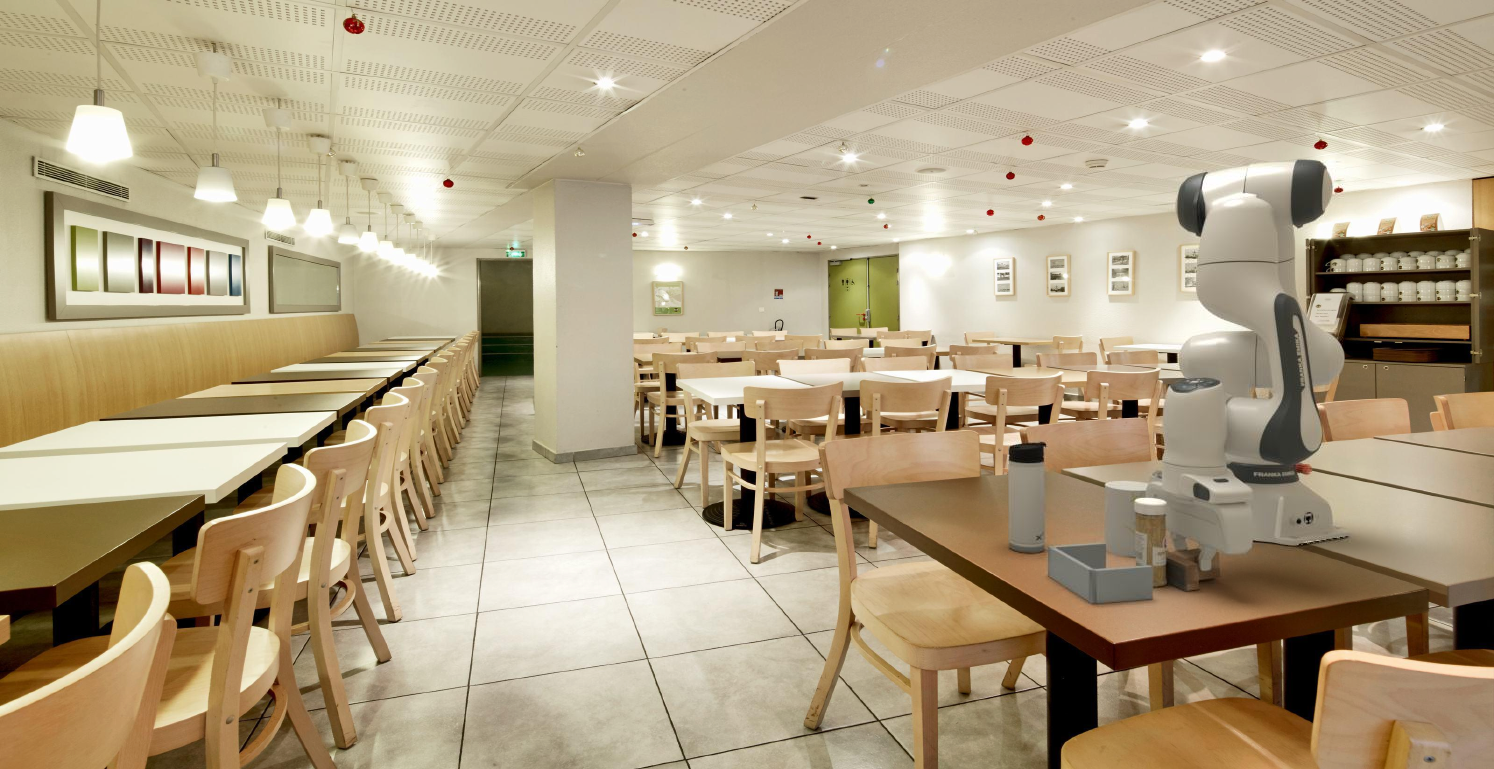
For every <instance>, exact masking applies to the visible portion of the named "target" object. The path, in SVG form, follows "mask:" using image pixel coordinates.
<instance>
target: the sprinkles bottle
mask: <svg viewBox="0 0 1494 769" xmlns="http://www.w3.org/2000/svg"><path fill="white" fill-rule="evenodd" d="M1134 510H1135V514H1136V529H1135V557H1134V558H1135V560H1134V561H1135V566H1143V565H1151V566H1153V588H1154V587H1155V588H1157V587H1163V586H1165V585H1167V580H1166V550H1167V534H1166V533H1167V530H1166V525H1165V524H1166V518H1165V517H1166V513H1167V503H1166V501H1164V500H1161V499H1156V498H1138V499H1136V500H1135V503H1134Z"/></svg>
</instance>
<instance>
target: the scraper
mask: <svg viewBox="0 0 1494 769" xmlns="http://www.w3.org/2000/svg"><path fill="white" fill-rule="evenodd" d="M1200 553H1201V550H1200V549H1199V547H1197V548H1191V549H1189V548H1188V550H1183V551H1176V552H1175V551H1169V550H1167V549H1166V580H1167V583H1168V584H1170V585H1171V586H1174V587H1176V588H1178V589H1180V590H1181V591H1184V592H1188V591H1195V590H1199V589H1200V583H1199V581H1202V580H1203V581H1204V580H1210V579H1215V578H1220V577H1221V567H1220V566H1221V565H1220V551H1217V552H1216V554H1215V555H1214V557H1213V558H1212V559H1211V569H1210V570H1208V571H1202V570H1200V569H1198V564H1197V563H1195V562H1194V557H1199V555H1200ZM1167 583H1166V584H1167Z"/></svg>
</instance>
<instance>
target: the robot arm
mask: <svg viewBox="0 0 1494 769" xmlns="http://www.w3.org/2000/svg"><path fill="white" fill-rule="evenodd" d="M1333 189H1334V187H1333V180H1332V178H1331V175H1330V173H1329V171H1328V168H1327V166H1326V165H1325V164H1324V163H1323V162H1322V161H1320V160H1316V159H1297V160H1296V161H1271V162H1270V161H1269V162H1268V161H1267V162H1258V163H1250V164H1249V165H1242V166H1237V167H1231V168H1225V169H1221V170H1216V171H1212V172H1208V171H1204V172H1201V173H1197V174H1193V175H1191V176H1189V177H1187V178H1186V179H1185V180H1184V181H1183V182H1182V183H1181V185H1180V186H1179V189H1178V193H1177V194H1176V198H1175V203H1174V204H1175V206H1174V207H1175V213H1176V216H1177V219H1178V223H1179V225H1180V227H1182V228H1183V229H1184V230H1186V231H1187V232H1189V233H1193V234H1195V236H1196V237H1199V238H1200V239H1199V245H1198V250H1197V257H1196V258H1197V260H1196V276H1195V290H1196V295H1197V300H1198V301H1199V302H1200V303H1201V305H1202V307H1203V308H1205V309H1206V310H1207V311H1208V312H1209V313H1210V314H1212V315H1214V316H1215V317H1217V318H1220V319H1221V320H1223V321H1226V322H1228V323H1233V324H1234V325H1238V326H1240V327H1243V328H1246V329H1247V330H1236V331H1235V330H1233V331H1232V330H1231V331H1229V330H1228V331H1212V332H1207V333H1202V334H1196V335H1191V336H1190V337H1189V338H1188V339H1186V341H1185V342H1184V343H1183V345H1182V347H1181V349H1180V351H1179V353H1178V367H1179V370H1180V372H1181V374H1182V376H1183V379H1179V380H1176V381H1174V382H1172V383H1171V384H1169V385H1168V387H1167V390H1166V393H1165V397H1164V402H1163V411H1162V412H1163V413H1162V431H1161V432H1162V433H1161V434H1162V437H1163V440H1164V441H1163V442H1164V451H1163V452H1164V453H1163V454H1162V461H1161V470H1155V471H1154V472H1152V474H1151V475H1150V476H1149V481H1148V482H1149V483H1148V486H1147V488H1146V494H1145V498H1156V499H1161V500H1164V501H1166V503H1167V513H1166V517H1165V518H1166V524H1165V525H1166V531H1168V532H1169V538H1170V540H1171V543H1172V545H1173V548H1174V550H1175V551H1174V552H1176V551H1183V550H1189V547H1188V544H1187V541H1186V539H1188V540H1191V541H1193V542H1196V543H1198V548H1199V549H1200V550H1201V553H1200V555H1199V557H1194V562H1195V563H1197V564H1198V569H1200V570H1202V571H1208V570H1210V569H1211V559H1212V558H1213V557H1214V555H1215V554H1216V552H1220V553H1224V554H1225V555H1242V554H1243V555H1244V554H1248V552H1249V551H1250V550H1251V549H1252V547H1253V541H1256V542H1257V541H1258V542H1266V543H1275V544H1278V545H1279V544H1280V545H1287V546H1299V543H1301V542H1306V541H1307V542H1308V541H1316V540H1324V539H1331V538H1337V539H1341V538H1340V537H1343V538H1346V537H1345V536H1348V537H1349V531H1348V530H1347V529H1345V528H1344V527H1342V526H1340V525H1337V524H1334V520H1333V511H1332V508H1331V505H1330V503H1329V502H1328V501H1327V500H1326V499H1325V498H1323V497H1322V496H1321V495H1319V494H1317V493H1316V492H1315V491H1314V490H1312V489H1311V488H1310V487H1308V486H1307V485H1306V484H1305V483H1302V481H1300V477H1299V474H1303V475H1305V476H1308V475H1311V473H1313V467H1312V465H1311V464H1307V463H1303V462H1304V461H1306V460H1308V459H1310V457H1312V456H1314V454H1316V453H1317V452H1318V451H1319V449H1320V448H1321V445H1322V444H1323V438H1324V436H1323V435H1324V430H1323V421H1322V418H1321V415H1320V411H1319V408H1318V404H1317V402H1316V397H1315V392H1314V391H1315V390H1314V388H1315V387H1321V386H1327V385H1328V386H1329V385H1330V384H1331V383H1332V382H1334V381H1335V380H1336V379H1337V378H1338V377H1339V376H1340V374H1341V373H1342V371H1343V368H1344V365H1345V351H1344V349H1343V347H1342V344H1341V343H1340V341H1338V339H1337V338H1336V337H1335V336H1334V335H1332V334H1331V333H1329V332H1328V331H1326V330H1323V329H1322V328H1320V327H1319V326H1318V325H1317V324H1315V323H1314V322H1313V321H1312V320H1311V319H1310V318H1309V316H1308V315H1306V313H1305V312H1304V310H1303V308H1302V306H1301V304H1300V302H1299V299H1298V292H1297V285H1296V283H1297V282H1296V240H1295V238H1296V237H1295V229H1294V227H1295V228H1297V229H1301V228H1303V227H1304V225H1307V224H1310V223H1312V222H1315V221H1316V220H1317V219H1318V218H1320V217H1321V216H1323V215H1324V214H1325V211H1326V208H1327V207H1328V206H1329V204H1330V202H1331V199H1332V197H1333ZM1253 389H1254V390H1255V389H1272V391H1273V395H1272V397H1271V398H1262V397H1254V396H1253V395H1252V390H1253ZM1331 540H1332V539H1331Z"/></svg>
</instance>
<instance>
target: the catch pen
mask: <svg viewBox="0 0 1494 769" xmlns="http://www.w3.org/2000/svg"><path fill="white" fill-rule="evenodd" d="M1047 577H1049V578H1051V579H1052V580H1053V581H1055V582H1057V583H1059V584H1060V585H1061V586H1063V587H1065V588H1066V589H1068V590H1070V591H1071V592H1072V593H1074V594H1076V595H1077V596H1079V597H1081V599H1084V600H1085V601H1087V602H1089V603H1090V604H1091V605H1095V604H1105V603H1107V604H1108V603H1115V602H1116V603H1118V602H1121V603H1122V602H1130V601H1142V600H1143V601H1145V600H1153V599H1154V587H1153V566H1151V565H1143V566H1136V565H1131V566H1119V567H1107V550H1106V543H1105V542H1090V543H1076V544H1063V545H1048V546H1047Z"/></svg>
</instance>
